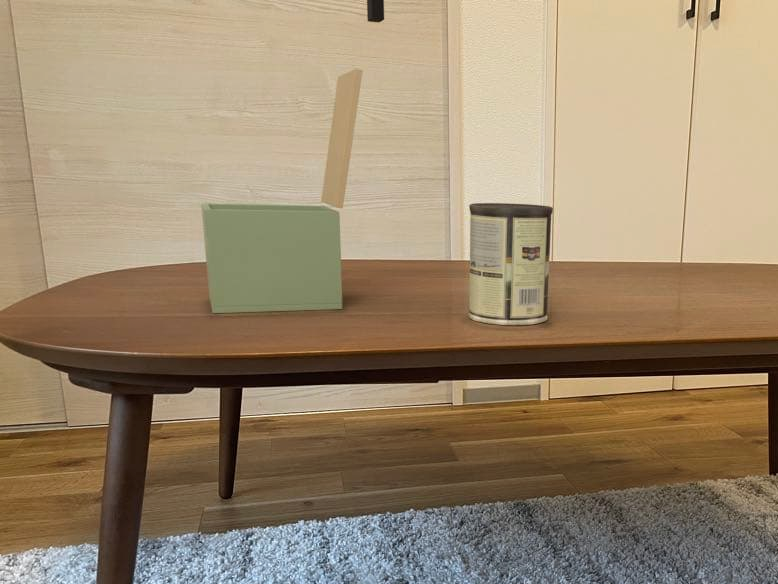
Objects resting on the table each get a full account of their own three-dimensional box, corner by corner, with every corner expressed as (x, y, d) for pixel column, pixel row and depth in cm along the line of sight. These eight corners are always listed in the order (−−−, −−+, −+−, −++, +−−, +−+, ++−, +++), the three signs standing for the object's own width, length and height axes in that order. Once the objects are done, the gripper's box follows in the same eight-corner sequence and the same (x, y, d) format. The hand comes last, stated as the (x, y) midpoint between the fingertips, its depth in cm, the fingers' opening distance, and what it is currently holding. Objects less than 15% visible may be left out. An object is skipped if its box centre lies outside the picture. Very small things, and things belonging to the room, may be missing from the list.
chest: (212, 313, 94) (204, 209, 91) (209, 297, 104) (201, 203, 101) (342, 309, 101) (339, 211, 97) (327, 294, 111) (324, 205, 107)
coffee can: (496, 307, 107) (499, 201, 102) (561, 317, 102) (567, 207, 98) (451, 318, 98) (452, 203, 94) (520, 329, 93) (525, 209, 89)
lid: (355, 68, 93) (362, 70, 93) (338, 76, 103) (344, 77, 103) (335, 207, 97) (342, 208, 97) (320, 201, 107) (327, 202, 107)
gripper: (316, -233, 83) (327, 10, 90) (433, -207, 88) (435, 21, 96) (306, -206, 90) (317, 19, 97) (416, -183, 95) (419, 29, 102)
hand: (375, 20), depth 96 cm, fingers closed
